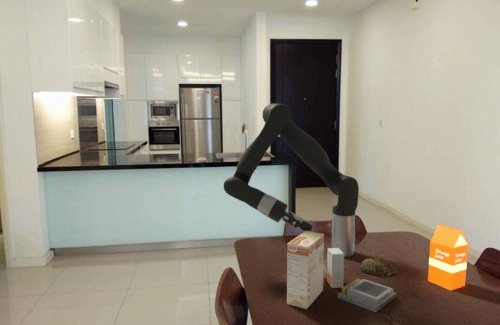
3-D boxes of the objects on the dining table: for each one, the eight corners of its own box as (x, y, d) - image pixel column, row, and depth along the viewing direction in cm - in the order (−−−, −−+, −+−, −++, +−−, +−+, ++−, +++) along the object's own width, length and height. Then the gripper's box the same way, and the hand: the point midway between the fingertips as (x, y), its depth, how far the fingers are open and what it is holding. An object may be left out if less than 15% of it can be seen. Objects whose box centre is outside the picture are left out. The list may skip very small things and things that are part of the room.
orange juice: (450, 290, 126) (454, 232, 124) (427, 280, 134) (430, 225, 131) (465, 285, 130) (469, 229, 127) (442, 276, 137) (445, 222, 135)
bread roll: (354, 271, 143) (355, 258, 142) (369, 261, 152) (370, 249, 151) (388, 281, 134) (388, 267, 134) (401, 270, 143) (402, 257, 143)
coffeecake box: (304, 285, 130) (305, 230, 128) (324, 290, 126) (325, 233, 124) (285, 304, 117) (286, 243, 115) (307, 309, 114) (308, 247, 111)
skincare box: (326, 280, 134) (327, 247, 132) (338, 280, 134) (339, 247, 133) (331, 288, 128) (332, 254, 126) (343, 287, 128) (344, 253, 127)
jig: (359, 284, 131) (359, 275, 131) (396, 296, 122) (396, 287, 121) (337, 297, 121) (337, 288, 121) (375, 312, 112) (376, 302, 112)
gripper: (274, 198, 134) (315, 221, 130) (279, 198, 148) (316, 219, 144) (264, 217, 134) (304, 241, 130) (270, 215, 148) (307, 236, 144)
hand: (311, 229), depth 137 cm, fingers open, 8 cm apart
